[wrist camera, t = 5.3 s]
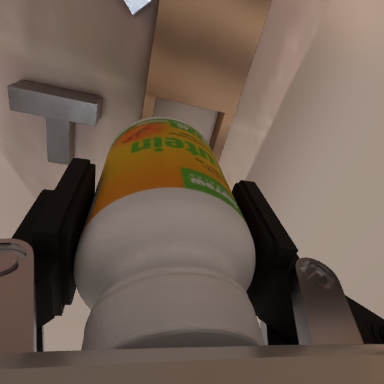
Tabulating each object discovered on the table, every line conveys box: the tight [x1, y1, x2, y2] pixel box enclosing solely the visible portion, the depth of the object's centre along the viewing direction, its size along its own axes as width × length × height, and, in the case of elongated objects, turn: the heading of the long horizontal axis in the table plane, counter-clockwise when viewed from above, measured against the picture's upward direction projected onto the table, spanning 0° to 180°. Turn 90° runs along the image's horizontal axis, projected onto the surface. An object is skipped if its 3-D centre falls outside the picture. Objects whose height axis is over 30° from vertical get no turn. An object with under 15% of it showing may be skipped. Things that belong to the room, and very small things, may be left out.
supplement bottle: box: [73, 117, 265, 351], centre depth 9 cm, size 5×5×10 cm
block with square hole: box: [141, 0, 272, 162], centre depth 26 cm, size 22×9×2 cm, turn 166°
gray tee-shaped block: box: [8, 80, 102, 165], centre depth 25 cm, size 7×7×3 cm
